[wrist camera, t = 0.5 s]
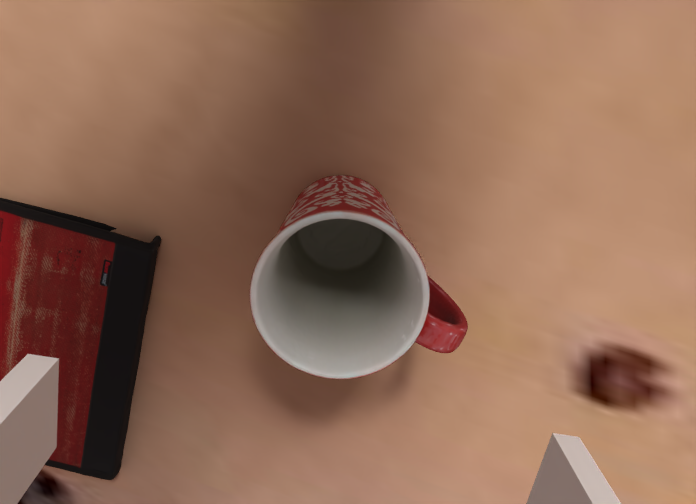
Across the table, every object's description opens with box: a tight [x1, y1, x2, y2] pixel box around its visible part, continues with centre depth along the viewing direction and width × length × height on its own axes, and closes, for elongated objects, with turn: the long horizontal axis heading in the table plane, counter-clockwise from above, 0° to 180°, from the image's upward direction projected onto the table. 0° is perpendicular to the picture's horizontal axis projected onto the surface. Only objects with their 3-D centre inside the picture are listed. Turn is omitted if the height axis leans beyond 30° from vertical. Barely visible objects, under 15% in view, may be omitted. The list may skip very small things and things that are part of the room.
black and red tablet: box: [0, 198, 161, 480], centre depth 43 cm, size 16×2×21 cm
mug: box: [250, 175, 468, 379], centre depth 35 cm, size 13×9×14 cm
